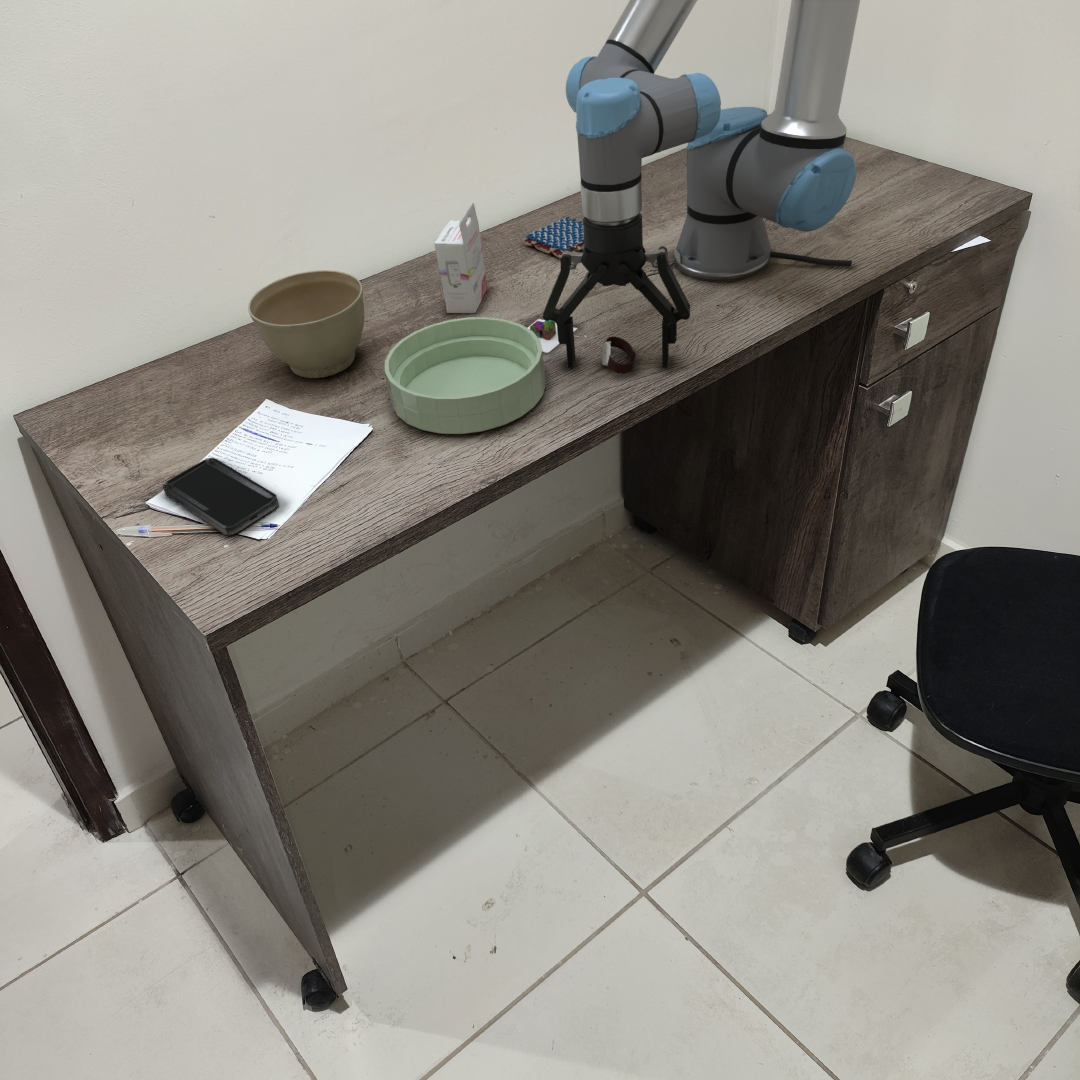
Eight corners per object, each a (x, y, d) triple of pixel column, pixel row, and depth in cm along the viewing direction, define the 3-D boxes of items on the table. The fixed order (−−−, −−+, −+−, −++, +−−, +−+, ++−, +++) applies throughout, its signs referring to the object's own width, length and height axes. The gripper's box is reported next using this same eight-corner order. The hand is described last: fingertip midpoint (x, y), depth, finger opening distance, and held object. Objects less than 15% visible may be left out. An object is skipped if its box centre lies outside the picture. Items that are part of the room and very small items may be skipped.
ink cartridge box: (459, 288, 159) (445, 200, 149) (488, 289, 158) (476, 200, 148) (445, 314, 153) (429, 223, 143) (475, 314, 152) (462, 223, 142)
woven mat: (522, 246, 169) (521, 234, 168) (566, 225, 174) (566, 214, 173) (562, 262, 163) (561, 250, 162) (607, 240, 168) (607, 229, 167)
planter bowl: (249, 365, 146) (228, 299, 139) (341, 325, 153) (325, 260, 146) (302, 405, 136) (282, 336, 129) (397, 360, 143) (383, 292, 136)
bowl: (555, 354, 140) (552, 316, 136) (532, 438, 125) (528, 399, 121) (414, 354, 144) (407, 317, 140) (374, 436, 128) (365, 397, 124)
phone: (211, 455, 126) (280, 497, 118) (213, 462, 127) (282, 504, 118) (158, 486, 122) (226, 531, 114) (161, 493, 123) (229, 538, 114)
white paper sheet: (577, 328, 145) (576, 312, 144) (547, 353, 141) (546, 337, 139) (538, 318, 149) (537, 303, 147) (508, 342, 144) (506, 327, 142)
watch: (599, 351, 140) (597, 329, 137) (631, 348, 140) (630, 325, 137) (605, 379, 134) (604, 356, 131) (639, 375, 134) (638, 352, 131)
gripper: (711, 200, 123) (707, 349, 137) (521, 205, 127) (536, 349, 141) (710, 224, 118) (706, 377, 132) (511, 228, 122) (527, 376, 136)
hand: (618, 363), depth 136 cm, fingers open, 12 cm apart
